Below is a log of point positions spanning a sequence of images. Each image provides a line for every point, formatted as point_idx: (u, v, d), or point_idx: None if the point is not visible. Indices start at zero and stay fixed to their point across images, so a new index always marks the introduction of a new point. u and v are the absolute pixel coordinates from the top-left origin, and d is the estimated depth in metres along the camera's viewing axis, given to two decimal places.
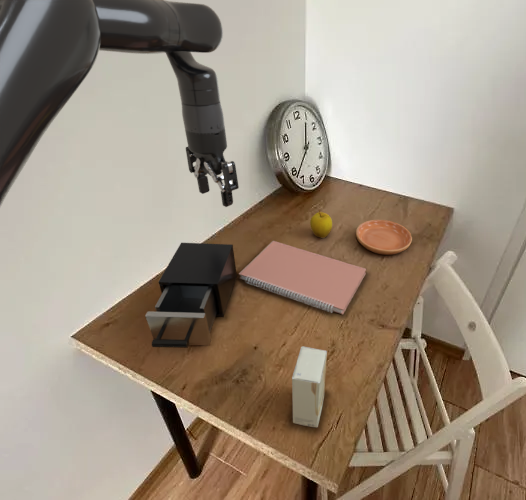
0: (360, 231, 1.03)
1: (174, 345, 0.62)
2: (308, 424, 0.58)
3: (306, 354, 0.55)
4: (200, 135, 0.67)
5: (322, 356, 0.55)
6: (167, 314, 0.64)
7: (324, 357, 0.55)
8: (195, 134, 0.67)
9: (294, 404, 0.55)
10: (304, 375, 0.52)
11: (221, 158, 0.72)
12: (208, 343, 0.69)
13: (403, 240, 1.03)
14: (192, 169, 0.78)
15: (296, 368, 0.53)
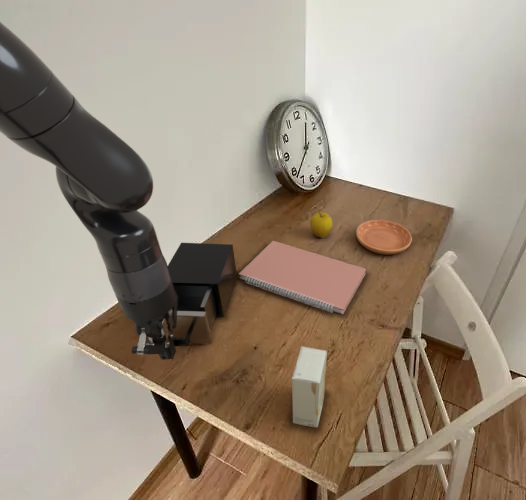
0: (360, 231, 1.03)
1: (175, 344, 0.62)
2: (308, 424, 0.58)
3: (306, 354, 0.55)
4: (116, 296, 0.50)
5: (322, 356, 0.55)
6: None
7: (324, 357, 0.55)
8: None
9: (294, 404, 0.55)
10: (304, 375, 0.52)
11: (144, 327, 0.52)
12: (208, 342, 0.69)
13: (403, 240, 1.03)
14: None
15: (296, 368, 0.53)
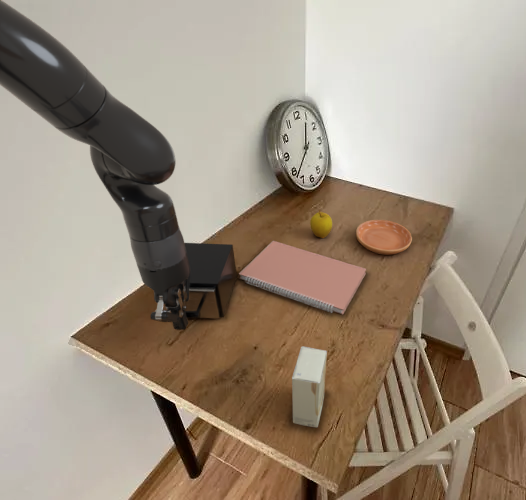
0: (360, 231, 1.03)
1: (187, 316, 0.68)
2: (308, 424, 0.58)
3: (306, 354, 0.55)
4: (137, 265, 0.56)
5: (322, 356, 0.55)
6: None
7: (324, 357, 0.55)
8: None
9: (294, 404, 0.55)
10: (304, 375, 0.52)
11: (162, 295, 0.58)
12: (217, 316, 0.74)
13: (403, 240, 1.03)
14: None
15: (296, 368, 0.53)
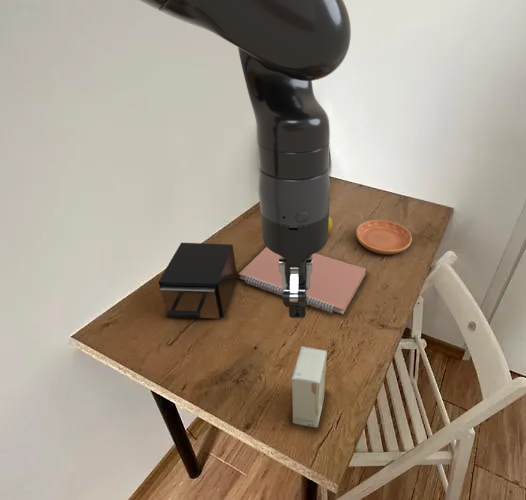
0: (360, 231, 1.03)
1: (187, 316, 0.68)
2: (308, 424, 0.58)
3: (306, 354, 0.55)
4: (267, 222, 0.37)
5: (322, 356, 0.55)
6: (180, 288, 0.70)
7: (324, 357, 0.55)
8: (262, 217, 0.37)
9: (294, 404, 0.55)
10: (304, 375, 0.52)
11: (297, 267, 0.39)
12: (217, 316, 0.74)
13: (403, 240, 1.03)
14: None
15: (296, 368, 0.53)
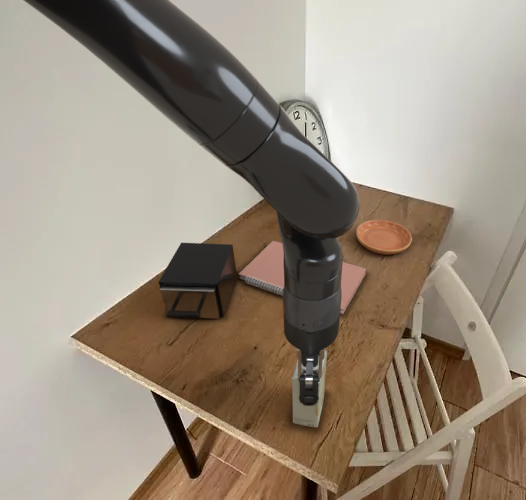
0: (360, 231, 1.03)
1: (187, 316, 0.68)
2: (308, 424, 0.58)
3: None
4: (289, 324, 0.45)
5: None
6: (180, 288, 0.70)
7: (324, 357, 0.55)
8: (285, 319, 0.45)
9: (294, 404, 0.55)
10: None
11: (312, 358, 0.47)
12: (217, 316, 0.74)
13: (403, 240, 1.03)
14: None
15: (296, 368, 0.53)
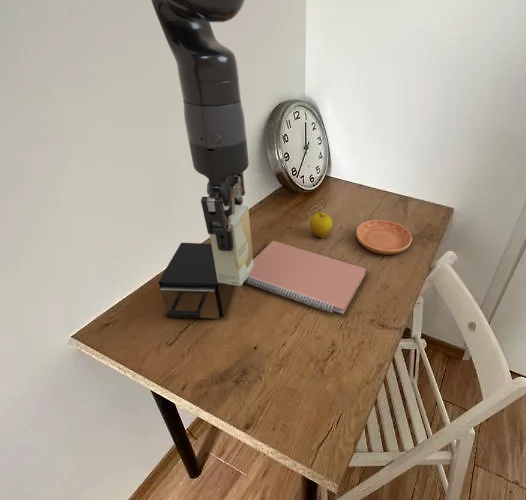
0: (360, 231, 1.03)
1: (187, 316, 0.68)
2: (231, 282, 0.59)
3: (227, 207, 0.56)
4: (191, 145, 0.46)
5: (242, 209, 0.56)
6: (180, 288, 0.70)
7: (244, 210, 0.56)
8: (189, 142, 0.47)
9: (214, 256, 0.56)
10: None
11: (218, 185, 0.48)
12: (217, 316, 0.74)
13: (403, 240, 1.03)
14: None
15: None
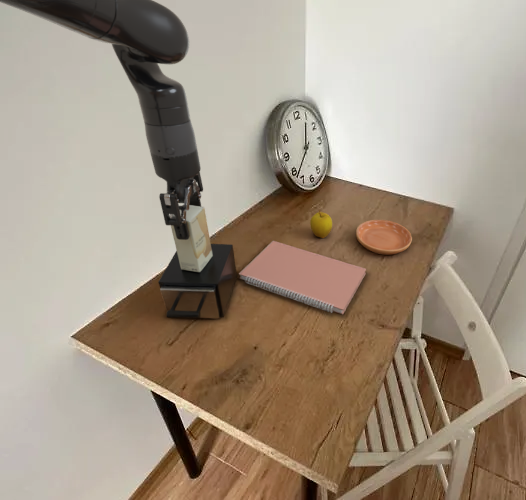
0: (360, 231, 1.03)
1: (187, 316, 0.68)
2: (192, 269, 0.72)
3: None
4: (152, 155, 0.59)
5: (199, 209, 0.70)
6: (180, 288, 0.70)
7: (200, 210, 0.70)
8: (150, 152, 0.60)
9: (177, 247, 0.70)
10: None
11: (174, 187, 0.61)
12: (217, 316, 0.74)
13: (403, 240, 1.03)
14: None
15: None
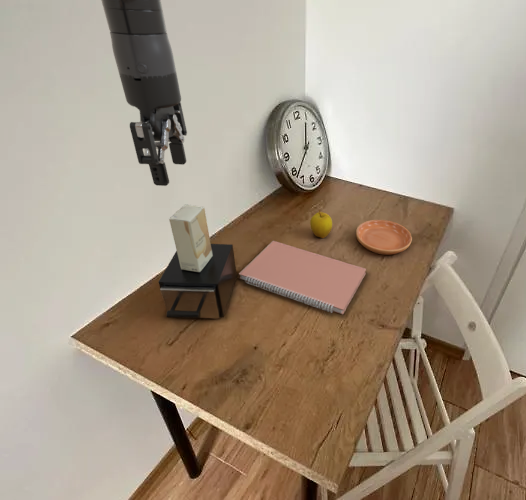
0: (360, 231, 1.03)
1: (187, 316, 0.68)
2: (192, 269, 0.72)
3: (186, 208, 0.70)
4: (120, 76, 0.49)
5: (199, 209, 0.70)
6: (180, 288, 0.70)
7: (200, 210, 0.70)
8: (119, 74, 0.50)
9: (177, 247, 0.70)
10: (179, 217, 0.67)
11: (149, 117, 0.51)
12: (217, 316, 0.74)
13: (403, 240, 1.03)
14: None
15: (174, 214, 0.68)
